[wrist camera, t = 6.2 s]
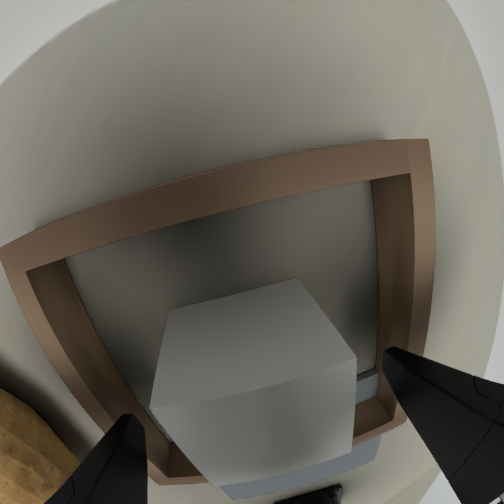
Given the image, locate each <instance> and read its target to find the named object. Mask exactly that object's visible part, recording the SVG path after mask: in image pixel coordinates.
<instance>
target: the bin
mask: <svg viewBox="0 0 504 504" xmlns="http://www.w3.org/2000/svg"><path fill="white" fill-rule="evenodd" d="M366 180H371V185H372V193H373V201H374V211H375V222H376V235H377V251H378V280H379V313H378V341H377V357H376V369H377V370H378V372H379V378H378V386H377V394H376V396H374V397H372V398H370V399H367V400H365V401H363V402H360V403H358V404H355V416H354V429H353V439H352V447H353V446H355V445H358V444H360V443H362V442H365V441H367V440H369V439H372V438H374V437H376V436H378V435H380V434H382V433H385V432H387V431H389V430H391V429H393V428H395V427H397V426H399V425H401V424H403V423H404V422H406V419H407V415H406V413H405V412H404V410H403V409H402V407H401V406H400V404H399V402H398V400H397V399H396V397H395V395H394V393H393V391H392V389H391V387H390V385H389V383H388V381H387V379H386V377H385V375H384V373H383V370H382V357H383V351H384V350H385V349H387V348H389V347H391V346H396V347H398V348H401V349H404V350H406V351H409V352H411V353H414V354H417V355H419V356H422V357H423V353H424V348H425V342H426V336H427V330H428V324H429V317H430V309H431V301H432V291H433V279H434V263H435V201H434V185H433V173H432V164H431V155H430V148H429V141H428V139H400V140H383V141H373V142H364V143H355V144H347V145H340V146H333V147H326V148H319V149H313V150H307V151H301V152H295V153H289V154H284V155H279V156H273V157H268V158H263V159H259V160H254V161H249V162H245V163H240V164H236V165H231V166H227V167H223V168H219V169H215V170H211V171H207V172H203V173H199V174H195V175H191V176H188V177H184V178H180V179H177V180H173V181H170V182H166V183H163V184H159V185H156V186H153V187H149V188H146V189H143V190H140V191H137V192H134V193H131V194H128V195H124V196H122V197H119V198H116V199H113V200H110V201H107V202H104V203H101V204H99V205H96V206H93V207H90V208H88V209H85V210H82V211H80V212H77V213H75V214H72V215H69V216H67V217H64V218H62V219H59V220H57V221H55V222H52V223H50V224H47V225H45V226H43V227H40V228H38V229H36V230H34V231H32V232H30V233H28V234H26V235H24V236H22V237H20V238H18V239H16V240H14V241H12V242H10V243H8V244H6V245H4V246H2V247H1V248H0V259H1V262H2V265H3V268H4V270H5V273H6V275H7V278H8V280H9V283H10V285H11V288H12V290H13V292H14V295H15V297H16V299H17V301H18V303H19V305H20V308H21V310H22V312H23V314H24V316H25V318H26V320H27V322H28V324H29V326H30V327H31V329H32V331H33V333H34V335H35V337H36V338H37V340H38V342H39V344H40V345H41V347H42V349H43V350H44V352H45V354H46V355H47V357H48V359H49V360H50V362H51V363H52V365H53V366H54V368H55V370H56V371H57V373H58V374H59V376H60V377H61V378H62V380H63V381H64V383H65V384H66V386H67V387H68V388H69V390H70V391H71V392H72V394H73V395H74V397H75V398H76V399H77V400H78V402H79V403H80V404H81V406H82V407H83V408H84V409H85V411H86V412H87V413H88V414H89V416H90V417H91V418H92V419H93V420H94V421H95V423H96V424H97V425H98V426H99V427H100V428H101V430H102V431H103V432H104V433H105V434H106V433H107V432H108V430H109V429H110V428H111V427H112V426H113V424H114V423H115V422H116V421H117V420H118V418H119V417H120V416H121V415H122V414H124V413H133V414H134V415H135V416H136V417H137V418H138V420H139V421H140V422H141V423H142V425H143V426H144V428H145V436H146V450H147V463H148V476H149V477H150V478H151V479H153V480H154V481H155V482H156V483H157V484H159V485H180V484H196V483H207V482H209V481H208V480H207V479H206V478H205V477H204V476H203V475H202V473H201V472H200V471H199V470H198V469H197V468H196V467H195V466H194V465H193V464H192V462H191V461H190V460H189V459H188V458H187V457H186V455H185V454H184V453H183V452H182V451H181V450H180V448H179V447H178V446H177V445H176V443H169V442H168V441H167V440H166V438H165V437H164V436H163V435H162V433H161V432H160V431H159V429H158V428H157V427H156V426H155V424H154V423H153V422H152V420H151V419H150V418H149V416H148V415H147V413H146V412H145V411H144V409H143V408H142V407H141V405H140V404H139V402H138V401H137V399H136V398H135V396H134V395H133V393H132V392H131V390H130V389H129V387H128V386H127V384H126V383H125V381H124V380H123V378H122V376H121V375H120V373H119V372H118V370H117V368H116V367H115V365H114V363H113V362H112V360H111V358H110V356H109V355H108V353H107V351H106V349H105V347H104V346H103V344H102V342H101V340H100V338H99V336H98V335H97V333H96V331H95V329H94V327H93V325H92V323H91V321H90V319H89V317H88V315H87V313H86V310H85V308H84V306H83V304H82V302H81V300H80V297H79V295H78V293H77V291H76V288H75V286H74V284H73V281H72V279H71V276H70V274H69V271H68V269H67V266H66V264H65V261H64V258H65V257H68V256H71V255H74V254H78V253H81V252H84V251H87V250H90V249H93V248H96V247H99V246H102V245H106V244H109V243H112V242H115V241H119V240H122V239H125V238H129V237H132V236H135V235H139V234H142V233H146V232H149V231H153V230H156V229H160V228H163V227H167V226H170V225H174V224H178V223H181V222H185V221H189V220H193V219H196V218H200V217H204V216H208V215H212V214H216V213H220V212H224V211H228V210H232V209H236V208H240V207H244V206H248V205H252V204H256V203H261V202H265V201H269V200H274V199H278V198H283V197H287V196H292V195H296V194H301V193H305V192H310V191H315V190H320V189H325V188H330V187H335V186H340V185H345V184H350V183H355V182H361V181H366Z"/></svg>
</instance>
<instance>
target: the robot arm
mask: <svg viewBox="0 0 504 504" xmlns="http://www.w3.org/2000/svg"><path fill="white" fill-rule="evenodd" d="M382 370H383V373H384V375H385V377H386V379H387V381H388V383H389V385H390V387H391V389H392V391H393V393H394V395H395V397H396V399H397V400H398V402H399V404H400V406H401V407H402V409H403V410H404V412H405V413H406V415H407V416H408V418H409V419H410V421H411V422H412V424H413V426H414V427H415V429H416V430H417V432H418V433H419V435H420V436H421V438H422V439H423V441H424V443H425V444H426V446H427V447H428V449H429V451H430V452H431V454H432V455H433V457H434V459H435V460H436V462H437V463H438V465H439V467H440V468H441V470H442V471H443V473H444V475H445V476H446V478H447V480H449V483H450V485H451V487H452V488H453V490H454V492H455V493H456V495H457V497H458V499H459V500H460V502H461V504H489V503H491V502H492V501H493V500H495V499H496V498H498V497H499V498H500V499H501V500H500V501H499V502H498V503H497V504H504V384H500V383H496V382H492V381H489V380H486V379H483V378H480V377H477V376H472V375H471V374H468V373H465V372H463V371H460V370H457V369H454V368H451V367H449V366H446V365H443V364H441V363H438V362H435V361H432V360H430V359H427V358H425V357H422V356H419V355H417V354H414V353H411V352H409V351H406V350H404V349H401V348H398V347H396V346H391V347H389V348H387V349H385V350H384V351H383V357H382ZM147 480H148V463H147V450H146V436H145V428H144V426H143V425H142V423H141V422H140V421H139V420H138V418H137V417H136V416H135V415H134V414H133V413H124V414H122V415H121V416H120V417H119V418H118V420H117V421H116V422H115V423H114V424H113V426H112V427H111V428H110V429H109V430H108V432H107V433H106V434H105V435H104V436H103V437H102V439H101V440H100V441H99V442H98V443H97V445H96V446H95V447H94V448H93V449H92V451H91V452H90V453H89V454H88V455H87V457H86V458H85V459H84V460H83V461H82V462H81V464H80V465H79V466H78V467H77V468H76V470H75V471H74V472H73V473H72V475H70V477H69V478H68V479H67V480H66V481H65V482H64V484H63V485H62V486H61V487H60V488H59V489H58V490H57V491H56V492H55V493H54V494H53V495H52V496H51V497H50V498H49V499H48V500H47V501H46V502H45V503H43V504H147ZM342 490H343V488H342V485H337V486H334V487H331V488H328V489H325V490H322V491H319V492H315V493H312V494H309V495H305V496H302V497H298V498H294V499H290V500H286V501H282V502H277V503H275V504H341V503H340V502H341V497H342Z"/></svg>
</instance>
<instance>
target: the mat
mask: <svg viewBox="0 0 504 504" xmlns="http://www.w3.org/2000/svg"><path fill="white" fill-rule="evenodd" d="M378 378H379V372H378V370H377V369H376V368H375V369H372V370H370V371H367V372H365V373H363V374H360V375H358V376H357V379H356V401H355V404H358V403H360V402H363V401H365V400H367V399H370V398H372V397H374V396H376V394H377V386H378ZM380 437H381V434H380V435H378V436H376V437H374V438H372V439H369V440H367V441H365V442H362V443H360V444H358V445H355V446H353V447H352V449H351V452H350V453H347V454H345V455H342V456H339V457H337V458H334V459H331V460H328V461H325V462H322V463H319V464H316V465H313V466H310V467H306V468H303V469H300V470H296V471H292V472H289V473H285V474H281V475H277V476H272V477H268V478H263V479H258V480H253V481H248V482H242V483H236V484H229V485H222V486H220V487H221V488H222V489H223V490H224V492H225V493H226V494H227V495H228V496H229V497H230V498H231V499H232V500H235V499H242V498H248V497H254V496H260V495H265V494H270V493H274V492H279V491H283V490H287V489H291V488H295V487H299V486H302V485H306V484H309V483H313V482H316V481H319V480H322V479H325V478H328V477H331V476H334V475H337V474H340V473H342V472H345V471H348V470H350V469H353V468H355V467H358V466H360V465H362V464H365V463H367V462H369V461H372V460H374V459H375V456H376V452H377V449H378V445H379V441H380Z"/></svg>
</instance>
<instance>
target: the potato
mask: <svg viewBox="0 0 504 504" xmlns="http://www.w3.org/2000/svg"><path fill="white" fill-rule="evenodd" d="M79 465H80V463H79V461H78V460H77V459H76V458H75V456H74V455H73V454H72V453H71V452H70V451H69V449H68V448H67V447H66V446H65V445H64V443H63V442H62V441H61V440H60V438H59V437H58V436H57V435H56V434H55V432H54V431H53V430H52V429H51V428H50V426H49V425H48V424H47V423H46V422H45V421H44V420H43V419H42V418H41V417H40V416H39V415H38V414H37V413H36V412H35V411H34V410H33V409H32V408H31V407H30V406H28V405H27V404H25V403H24V402H22V401H21V400H19V399H18V398H16V397H15V396H13V395H12V394H10V393H8V392H6V391H4V390H3V389H1V388H0V504H43V503H45V502H46V501H47V500H48V499H49V498H50V497H51V496H52V495H53V494H54V493H55V492H56V491H57V490H58V489H59V488H60V487H61V486H62V485H63V484H64V482H65V481H66V480H67V479H68V478H69V477H70V475H72V473H73V472H74V471H75V470H76V468H77V467H78V466H79Z"/></svg>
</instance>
